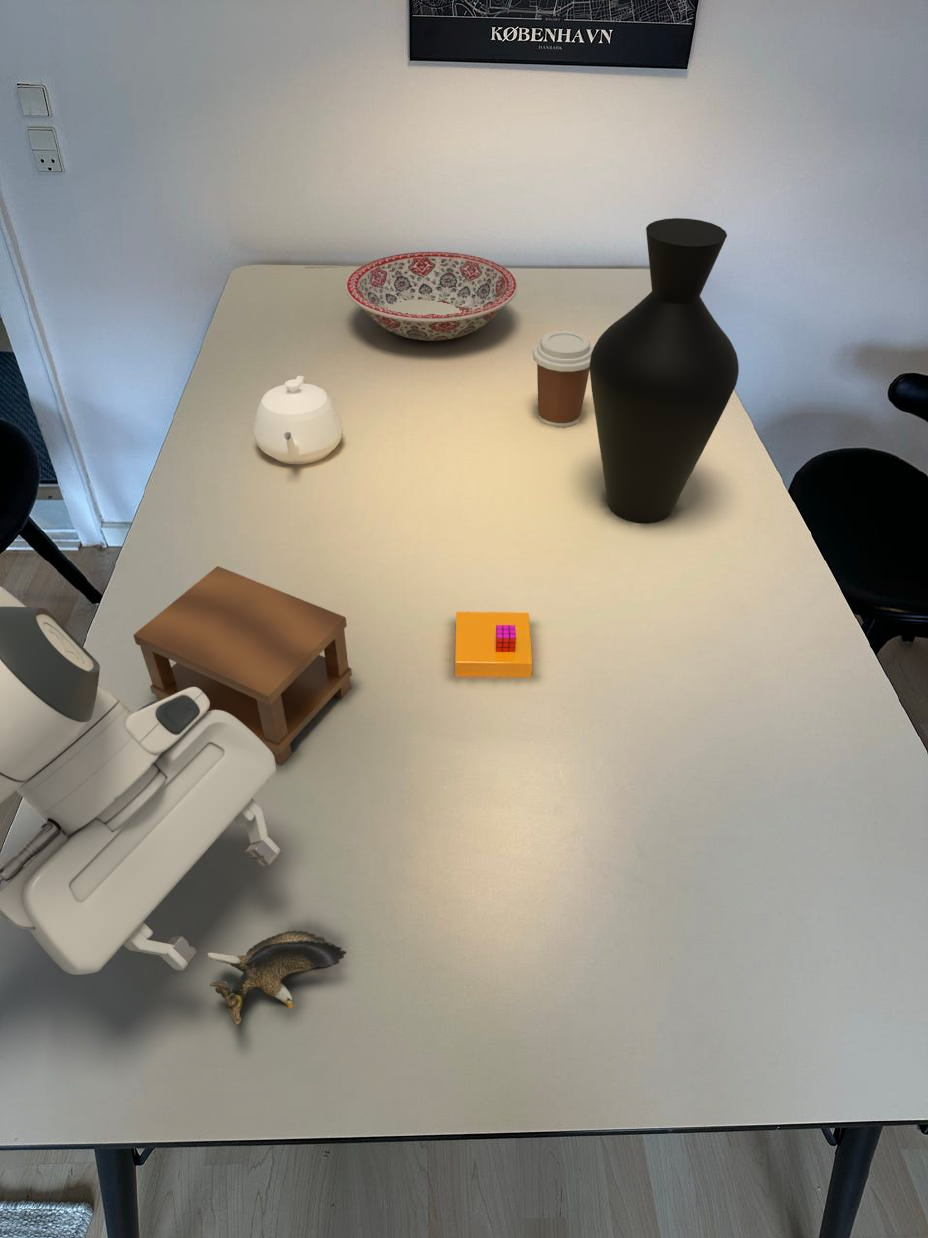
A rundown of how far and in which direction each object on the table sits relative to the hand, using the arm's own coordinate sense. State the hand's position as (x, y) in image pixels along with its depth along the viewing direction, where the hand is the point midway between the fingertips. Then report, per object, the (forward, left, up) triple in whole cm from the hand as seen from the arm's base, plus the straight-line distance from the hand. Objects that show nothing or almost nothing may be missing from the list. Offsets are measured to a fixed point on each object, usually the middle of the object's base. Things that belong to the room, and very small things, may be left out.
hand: (231, 908), depth 66 cm
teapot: (+64, +42, -8) cm, 77 cm away
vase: (+75, -5, -8) cm, 75 cm away
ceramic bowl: (+108, +47, -8) cm, 118 cm away
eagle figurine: (0, -4, -8) cm, 9 cm away
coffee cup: (+91, +14, -8) cm, 92 cm away
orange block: (+41, 0, -8) cm, 42 cm away
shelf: (+23, +17, -8) cm, 30 cm away
